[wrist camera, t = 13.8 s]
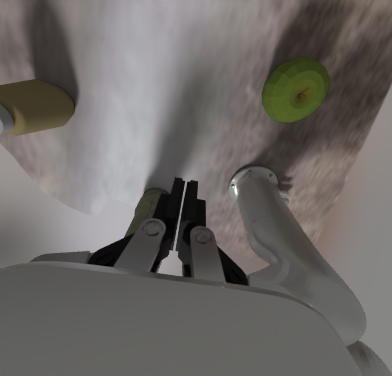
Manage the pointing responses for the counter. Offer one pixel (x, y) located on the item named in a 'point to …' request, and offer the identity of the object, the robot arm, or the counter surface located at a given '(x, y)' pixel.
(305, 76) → the apple
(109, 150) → the counter surface
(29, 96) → the squeeze bottle
